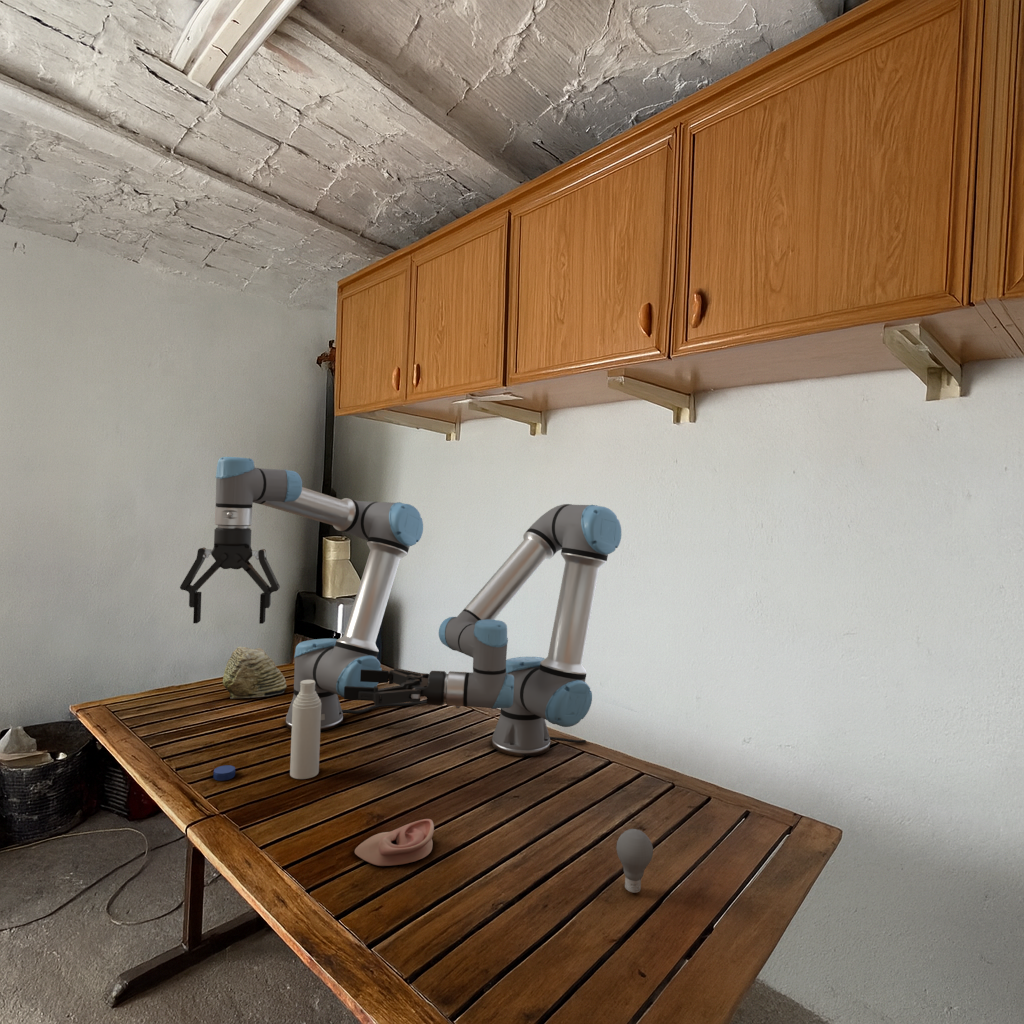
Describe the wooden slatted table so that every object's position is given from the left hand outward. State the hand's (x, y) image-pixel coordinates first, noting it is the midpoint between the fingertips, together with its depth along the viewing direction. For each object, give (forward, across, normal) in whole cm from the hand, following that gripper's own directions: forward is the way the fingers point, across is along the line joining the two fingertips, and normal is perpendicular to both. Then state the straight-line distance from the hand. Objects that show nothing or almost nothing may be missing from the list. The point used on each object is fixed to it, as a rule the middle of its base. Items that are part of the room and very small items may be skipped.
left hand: (229, 622), depth 141 cm
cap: (+33, 0, 0) cm, 33 cm away
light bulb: (+34, +76, -52) cm, 98 cm away
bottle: (+34, +17, 0) cm, 39 cm away
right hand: (+13, +27, -2) cm, 30 cm away
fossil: (+34, -5, +59) cm, 68 cm away
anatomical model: (+34, +37, -34) cm, 61 cm away
